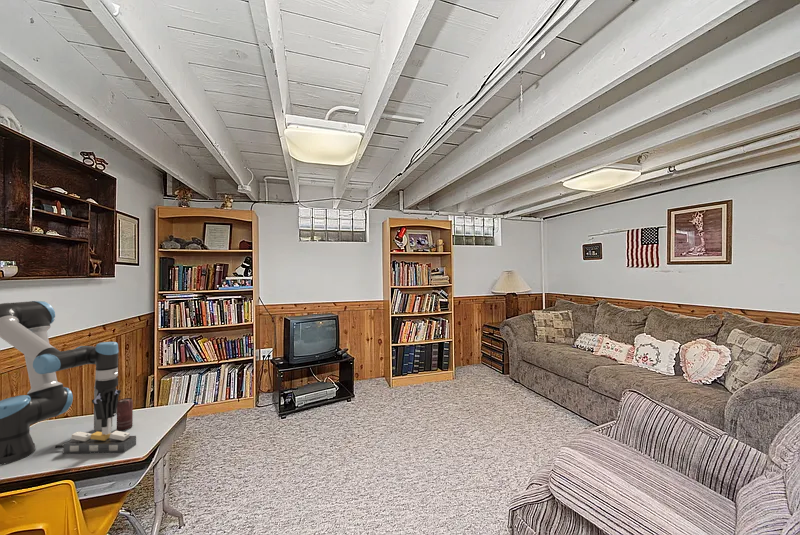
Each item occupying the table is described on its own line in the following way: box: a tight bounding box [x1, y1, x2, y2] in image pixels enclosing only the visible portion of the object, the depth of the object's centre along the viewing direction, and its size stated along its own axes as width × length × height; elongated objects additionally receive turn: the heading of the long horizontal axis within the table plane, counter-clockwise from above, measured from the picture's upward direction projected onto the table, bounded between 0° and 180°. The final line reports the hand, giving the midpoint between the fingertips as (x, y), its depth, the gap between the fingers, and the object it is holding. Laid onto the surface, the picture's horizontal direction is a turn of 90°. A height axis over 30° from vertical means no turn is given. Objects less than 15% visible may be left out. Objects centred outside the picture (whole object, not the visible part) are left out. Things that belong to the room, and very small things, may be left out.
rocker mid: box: [90, 431, 112, 441], centre depth 153 cm, size 6×3×2 cm, turn 92°
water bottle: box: [93, 379, 117, 432], centre depth 175 cm, size 9×8×25 cm
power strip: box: [54, 435, 137, 455], centre depth 153 cm, size 31×7×4 cm, turn 92°
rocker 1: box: [70, 431, 92, 441], centre depth 153 cm, size 6×3×2 cm, turn 92°
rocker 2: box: [110, 430, 131, 441], centre depth 154 cm, size 6×3×2 cm, turn 92°
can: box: [116, 397, 134, 432], centre depth 174 cm, size 6×6×14 cm
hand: (106, 433), depth 153 cm, fingers closed
